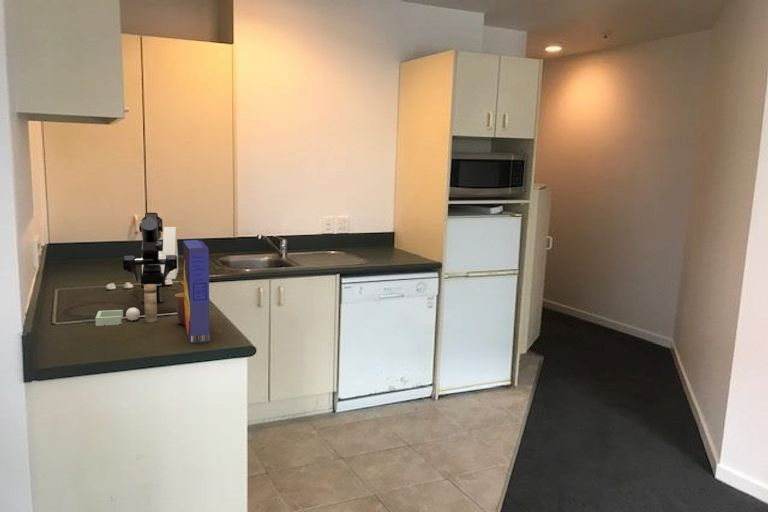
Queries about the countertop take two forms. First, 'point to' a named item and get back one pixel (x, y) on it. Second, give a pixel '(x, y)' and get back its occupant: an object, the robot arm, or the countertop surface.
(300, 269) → the countertop surface
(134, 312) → the ball
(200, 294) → the cereal box
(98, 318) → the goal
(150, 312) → the player peg
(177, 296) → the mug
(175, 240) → the milk carton
